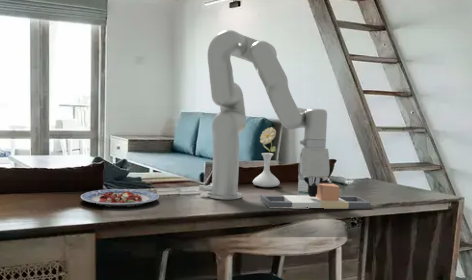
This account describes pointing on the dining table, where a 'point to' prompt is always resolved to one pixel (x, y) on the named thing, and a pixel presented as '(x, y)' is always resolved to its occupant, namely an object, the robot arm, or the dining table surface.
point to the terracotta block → (328, 192)
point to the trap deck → (315, 202)
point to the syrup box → (303, 187)
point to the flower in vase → (267, 161)
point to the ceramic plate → (119, 197)
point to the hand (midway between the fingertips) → (312, 196)
